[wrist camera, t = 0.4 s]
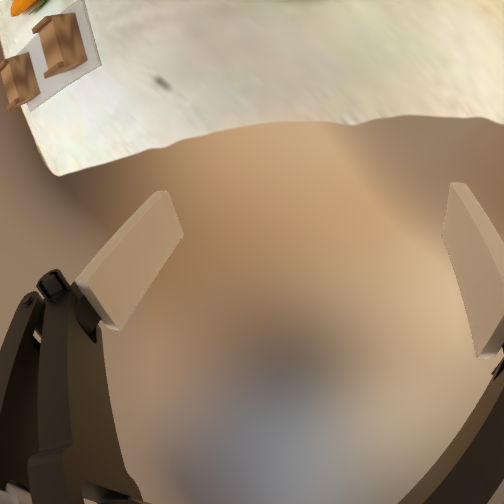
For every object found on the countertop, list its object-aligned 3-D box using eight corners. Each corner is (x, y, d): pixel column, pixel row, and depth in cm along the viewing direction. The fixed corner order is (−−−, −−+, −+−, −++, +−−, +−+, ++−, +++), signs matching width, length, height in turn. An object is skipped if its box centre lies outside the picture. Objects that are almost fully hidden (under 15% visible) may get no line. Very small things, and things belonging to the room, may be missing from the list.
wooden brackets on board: (22, 60, 36) (-5, 69, 30) (77, 12, 29) (45, 16, 24) (33, 99, 41) (7, 112, 36) (90, 59, 35) (58, 68, 30)
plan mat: (16, 57, 35) (13, 57, 35) (83, -3, 27) (81, -3, 27) (31, 111, 43) (29, 112, 43) (101, 65, 35) (99, 65, 35)
